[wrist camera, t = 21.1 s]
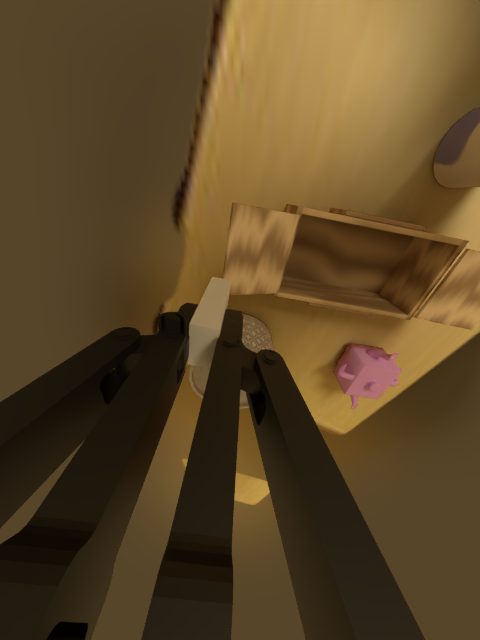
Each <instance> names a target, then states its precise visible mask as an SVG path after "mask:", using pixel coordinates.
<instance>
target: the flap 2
mask: <svg viewBox="0 0 480 640" xmlns="http://www.w3.org/2000/svg"><path fill="white" fill-rule="evenodd" d="M415 318H417V319H422V320H427V321H432V322H437V323H441V324H446V325H451V326H456V327H461V328H465V329H470V330H472V329H473V328H474V327H475V326H476V325H477V324H478V323H479V322H480V251H475V250H470V249H466V250H465V251H464V253H463V254H462V255H461V256H460V258H459V259H458V260H457V262H456V263H455V264H454V266H453V267H452V268H451V270H450V271H449V272H448V274H447V275H446V276H445V277H444V279H443V280H442V281H441V283H440V284H439V285H438V287H437V288H436V289H435V291H434V292H433V293H432V295H431V296H430V297H429V299H428V300H427V301H426V302H425V304H424V305H423V306H422V308H421V309H420V310H419V312H418V313H417V314H416V316H415Z"/></svg>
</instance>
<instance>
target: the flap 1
mask: <svg viewBox="0 0 480 640" xmlns="http://www.w3.org/2000/svg"><path fill="white" fill-rule="evenodd" d="M299 216H300V215H297V214H291V213H286V212H280V211H275V210H269V209H264V208H258V207H253V206H247V205H242V204H236V203H232V208H231V216H230V224H229V232H228V239H227V247H226V255H225V262H224V270H223V278H222V279H228V280H232V281H231V288H230V294H229V295H246V294H273V293H277V290H278V287H279V283H280V280H281V276H282V273H283V270H284V266H285V263H286V260H287V256H288V253H289V249H290V246H291V243H292V239H293V236H294V233H295V229H296V226H297V222H298V219H299Z"/></svg>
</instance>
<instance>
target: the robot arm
mask: <svg viewBox="0 0 480 640" xmlns="http://www.w3.org/2000/svg"><path fill="white" fill-rule="evenodd" d="M231 281H232V280H228V279H222V278H217V277H212V278H211V280H210V282H209V284H208V286H207V288H206V291H205V293H204V295H203V297H202V299H201V301H200V303H199V305H197V304H191V303H186V304H184V305H182V306H181V307H180V309H179V311H178V312H166V313H163V314H161V315H160V316H159V317H158V321H159V332H158V333H157V334H155V335H140V332H139V331H138V330H137V329H135V328H131V327H122V328H118V329H115V330H113V331H111V332H110V333H108V334H107V335H105V336H104V337H102V338H100V339H99V340H97V341H96V342H94V343H92V344H91V345H89V346H88V347H86V348H85V349H83V350H81V351H80V352H78V353H77V354H75V355H74V356H72V357H70V358H69V359H67V360H66V361H64V362H63V363H61V364H59V365H58V366H56V367H55V368H53V369H52V370H50V371H48V372H47V373H45V374H44V375H42V376H41V377H39V378H38V379H36V380H34V381H33V382H31V383H30V384H28V385H27V386H25V387H23V388H22V389H20V390H19V391H17V392H16V393H14V394H12V395H11V396H9V397H8V398H6V399H4V400H3V401H1V402H0V528H1V527H2V526H3V524H5V523H6V522H7V520H8V519H9V518H10V517H11V516H12V515H13V514H14V513H15V512H16V511H17V510H18V509H19V508H20V507H21V506H22V505H23V504H24V503H25V502H26V500H28V499H29V497H30V496H31V495H32V494H33V493H34V492H35V491H36V490H37V489H38V488H39V487H40V486H41V485H42V484H43V483H44V482H45V481H46V480H47V479H48V477H49V476H50V475H51V474H52V473H53V472H54V471H55V470H56V469H57V468H58V467H59V466H60V465H61V464H62V463H63V462H64V461H65V460H66V459H67V458H68V457H69V455H70V454H71V453H72V452H73V451H74V450H75V449H76V448H77V447H78V446H79V445H80V444H81V443H82V442H83V441H84V440H85V441H84V442H83V444H82V445H81V447H80V448H79V450H78V451H77V453H76V454H75V455H74V457H73V458H72V460H71V461H70V463H69V464H68V466H67V467H66V469H65V470H64V472H63V473H62V475H61V476H60V477H59V479H58V480H57V482H56V483H55V485H54V486H53V488H52V489H51V491H50V492H49V494H48V495H47V496H46V498H45V500H44V501H43V502H42V504H41V505H40V507H39V508H38V510H37V511H36V513H35V514H34V516H33V517H32V518H31V520H30V521H29V522H28V523H27V525H26V526H25V527H24V528H23V529H22V530H21V531H20V532H19V533H17V534H15V535H14V536H12V537H11V538H9V539H8V540H6V541H5V542H3V543H2V544H0V640H91V638H92V635H93V632H94V629H95V626H96V624H97V621H98V618H99V615H100V613H101V610H102V607H103V604H104V601H105V598H106V595H107V592H108V590H109V586H110V582H111V578H112V574H113V568H114V563H115V560H116V556H117V554H118V551H119V548H120V545H121V542H122V540H123V537H124V534H125V532H126V529H127V526H128V524H129V521H130V518H131V516H132V513H133V510H134V507H135V505H136V502H137V500H138V497H139V494H140V492H141V489H142V486H143V483H144V481H145V478H146V475H147V473H148V470H149V467H150V465H151V462H152V459H153V456H154V454H155V451H156V449H157V446H158V443H159V441H160V438H161V435H162V432H163V430H164V427H165V424H166V422H167V419H168V416H169V413H170V411H171V408H172V406H173V403H174V400H175V398H176V395H177V392H178V390H179V387H180V384H181V382H182V379H183V376H184V373H185V365H186V362H187V360H188V365H193V366H199V367H206V368H210V371H209V375H208V379H207V383H206V388H205V392H204V396H203V400H202V404H201V408H200V413H199V417H198V421H197V425H196V429H195V433H194V438H193V441H192V445H191V450H190V454H189V458H188V462H187V466H186V470H185V475H184V479H183V483H182V487H181V491H180V495H179V499H178V504H177V507H176V512H175V516H174V520H173V524H172V528H171V532H170V536H169V540H168V544H167V547H166V550H165V553H164V556H163V559H162V562H161V565H160V569H159V573H158V576H157V580H156V584H155V588H154V591H153V596H152V599H151V604H150V607H149V611H148V615H147V619H146V623H145V628H144V631H143V636H142V639H141V640H231V627H232V626H231V625H232V605H233V564H232V527H233V510H234V494H235V477H236V459H237V441H238V425H239V407H240V390H243V391H245V392H246V396H247V400H248V404H249V408H250V412H251V416H252V421H253V425H254V428H255V433H256V437H257V441H258V445H259V449H260V453H261V457H262V461H263V466H264V470H265V474H266V478H267V482H268V486H269V490H270V494H271V498H272V502H273V507H274V511H275V515H276V519H277V523H278V527H279V531H280V535H281V539H282V543H283V548H284V552H285V556H286V560H287V564H288V568H289V572H290V576H291V580H292V585H293V589H294V593H295V597H296V601H297V605H298V609H299V613H300V618H301V622H302V626H303V630H304V634H305V638H306V640H425V638H424V636H423V634H422V632H421V630H420V628H419V626H418V624H417V622H416V620H415V619H414V616H413V614H412V612H411V611H410V609H409V607H408V605H407V603H406V601H405V599H404V597H403V595H402V593H401V591H400V589H399V587H398V585H397V583H396V581H395V579H394V577H393V575H392V573H391V571H390V569H389V567H388V565H387V563H386V561H385V559H384V557H383V555H382V553H381V551H380V549H379V547H378V546H377V543H376V542H375V539H374V537H373V536H372V534H371V532H370V530H369V528H368V526H367V524H366V522H365V520H364V518H363V516H362V514H361V512H360V510H359V508H358V506H357V504H356V502H355V500H354V498H353V496H352V494H351V492H350V490H349V488H348V486H347V484H346V482H345V480H344V478H343V476H342V474H341V473H340V470H339V469H338V467H337V465H336V462H335V460H334V459H333V457H332V455H331V453H330V451H329V449H328V447H327V445H326V443H325V441H324V439H323V437H322V435H321V433H320V431H319V429H318V427H317V425H316V423H315V421H314V419H313V417H312V415H311V413H310V411H309V409H308V407H307V405H306V403H305V401H304V399H303V397H302V395H301V393H300V391H299V389H298V387H297V385H296V383H295V381H294V380H293V378H292V376H291V374H290V372H289V370H288V368H287V366H286V364H285V362H284V360H283V358H282V357H281V355H280V354H278V353H277V352H275V351H273V350H269V349H263V350H260V351H258V353H256V352H253V351H251V350H249V349H248V348H246V347H245V346H244V344H243V342H242V333H243V317H244V316H243V314H242V313H241V312H240V311H235V310H229V309H227V307H228V300H229V294H230V288H231ZM113 368H114V369H113ZM112 369H113V370H112ZM111 370H112V371H111Z"/></svg>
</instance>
